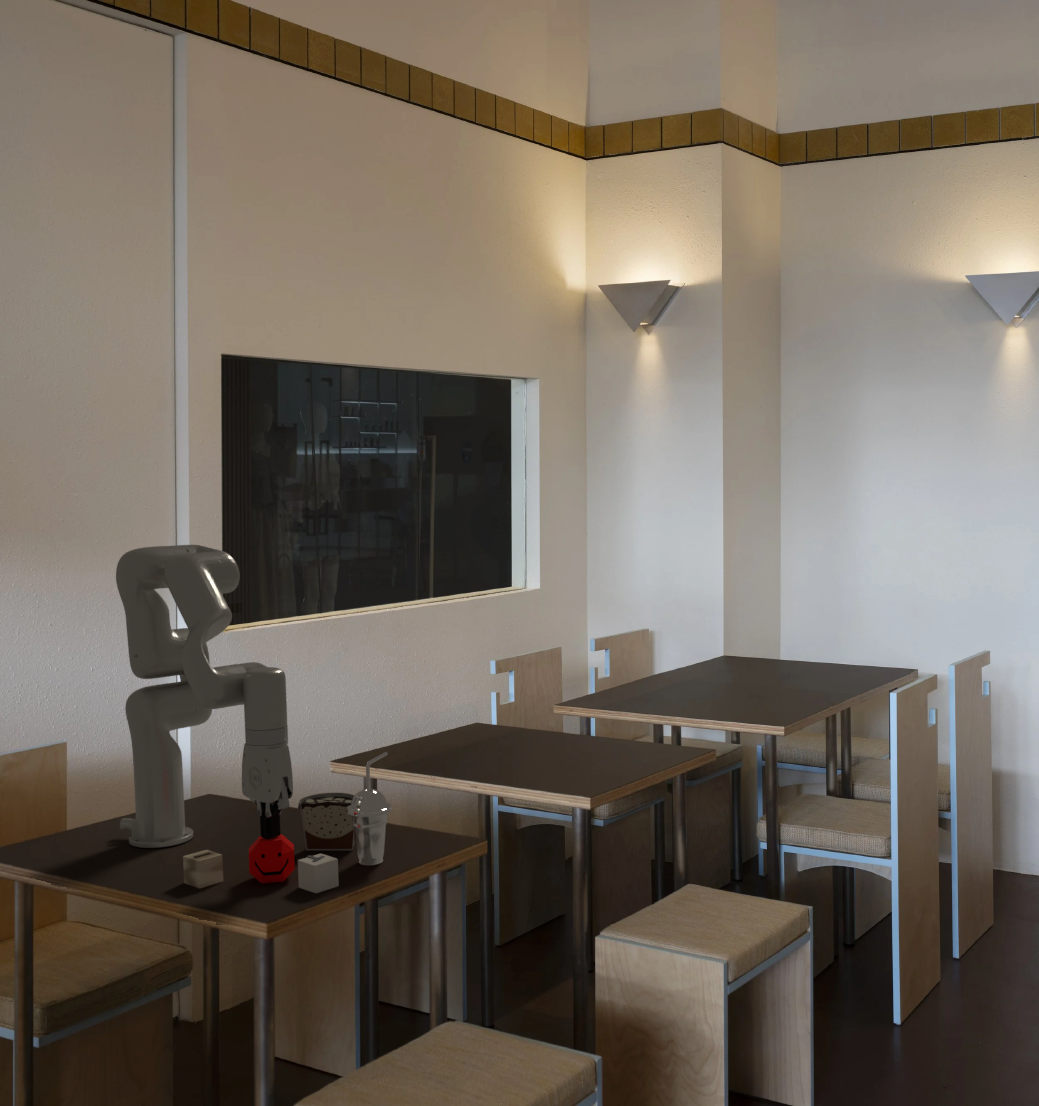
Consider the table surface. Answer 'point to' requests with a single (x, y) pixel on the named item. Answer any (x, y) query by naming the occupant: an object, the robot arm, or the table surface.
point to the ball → (271, 859)
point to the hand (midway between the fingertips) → (270, 836)
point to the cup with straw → (369, 820)
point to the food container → (327, 821)
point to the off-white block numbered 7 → (318, 873)
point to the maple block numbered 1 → (203, 868)
